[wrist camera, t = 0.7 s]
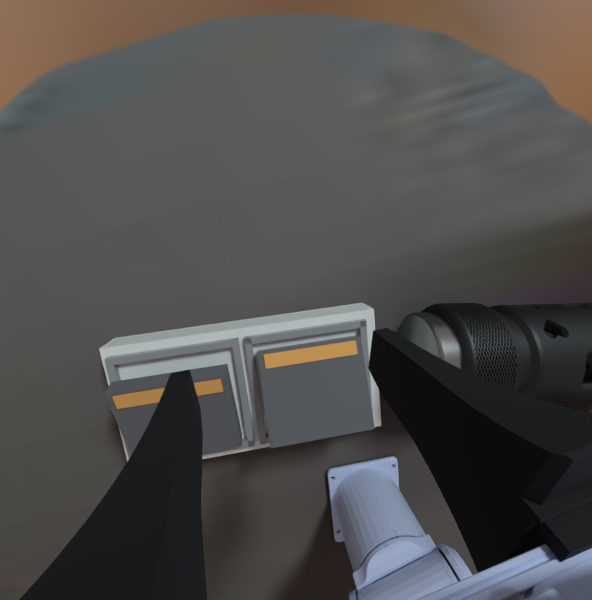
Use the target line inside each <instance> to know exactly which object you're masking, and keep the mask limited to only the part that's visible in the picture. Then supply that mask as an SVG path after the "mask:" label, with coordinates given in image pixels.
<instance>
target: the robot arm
mask: <svg viewBox="0 0 592 600" xmlns="http://www.w3.org/2000/svg"><path fill="white" fill-rule="evenodd" d="M368 368H369V370H370V372H371V375H372V377H373V379H374V381H375V383H376V384H377V386H378V388H379V390H380V392H381V393H382V395H383V396H384V398H385V399H386V401H387V402H388V404H389V405H390V407H391V408H392V409H393V411H394V412H395V414H396V415H397V417H398V418H399V420H400V421H401V423H402V424H403V426H404V427H405V428H406V430H407V431H408V433H409V434H410V436H411V437H412V439H413V441H414V442H415V444H416V445H417V447H418V449H419V451H420V452H421V454H422V456H423V458H424V460H425V462H426V463H427V465H428V467H429V469H430V471H431V473H432V475H433V477H434V478H435V480H436V482H437V484H438V486H439V488H440V490H441V492H442V494H443V496H444V498H445V500H446V502H447V504H448V506H449V508H450V510H451V513H452V515H453V517H454V519H455V521H456V523H457V525H458V527H459V530H460V532H461V534H462V536H463V539H464V541H465V543H466V545H467V547H468V550H469V552H470V554H471V557H472V559H473V561H474V564H475V566H476V568H477V571H478V573H477V574H474V575H472V574H471V572H470V570H469V569H468V567H467V566H466V564H465V563H464V561H463V560H462V558H461V557H460V556H459V554H458V553H457V552H456V551H455V550H454V549H453V548H450V547H448V546H447V545H445V544H441V545H439V546H438V549H439V551H438V549H437V547H436V546H435V544H434V542H433V541H432V539H431V537H430V536H429V535H428V534H427V535H426V534H425V533H424V531H423V529H422V528H421V526H420V524H419V523H418V521H417V519H416V517H415V516H414V514H413V512H412V511H411V509H410V507H409V506H408V504H407V502H406V500H405V499H404V497H403V495H402V494H401V492H400V490H399V479H398V461H397V459H396V458H395V457H394V456H391V457H386V458H381V459H376V460H371V461H366V462H361V463H356V464H351V465H346V466H341V467H336V468H331V469H329V470H328V472H327V475H328V484H329V494H330V503H331V512H332V522H333V531H334V538H335V541H336V542H342V541H344V542H345V545H346V548H347V552H348V555H349V558H350V562H351V565H352V568H353V571H354V573H353V574H352V575H353V579H354V582H355V585H356V589H357V590H353V591H351V592H350V593H349V599H348V600H517V599H519V598H521V597H523V596H525V599H524V600H592V413H588V412H584V411H580V410H576V409H571V408H567V407H563V406H560V405H556V404H553V403H550V402H546V401H543V400H539V399H536V398H533V397H530V396H527V395H524V394H521V393H518V392H515V391H513V390H510V389H507V388H504V387H502V386H499V385H496V384H494V383H491V382H489V381H487V380H484V379H482V378H480V377H477V376H475V375H473V374H470V373H468V372H466V371H464V370H462V369H460V368H458V367H456V366H454V365H452V364H450V363H448V362H446V361H444V360H442V359H440V358H439V357H437V356H435V355H433V354H431V353H430V352H428V351H426V350H424V349H423V348H421V347H419V346H417V345H416V344H414V343H412V342H410V341H409V340H407V339H405V338H404V337H402V336H400V335H398V334H397V333H395V332H393V331H391V330H389V329H388V328H384V329H379V330H374V331H373V335H372V343H371V351H370V359H369V367H368ZM202 447H203V431H202V419H201V408H200V404H199V401H198V397H197V393H196V390H195V386H194V383H193V379H192V376H191V372H190V369H189V370H184V371H179V372H175V373H172V374H171V375H170V376H169V378H168V381H167V384H166V386H165V389H164V391H163V394H162V396H161V398H160V401H159V403H158V405H157V407H156V409H155V412H154V414H153V416H152V418H151V420H150V422H149V424H148V426H147V428H146V430H145V432H144V433H143V435H142V437H141V439H140V441H139V442H138V444H137V446H136V448H135V450H134V451H133V453H132V455H131V456H130V458H129V460H128V461H127V463H126V465H125V466H124V468H123V469H122V471H121V472H120V474H119V476H118V477H117V479H116V480H115V482H114V483H113V485H112V486H111V487H110V489H109V490H108V492H107V493H106V495H105V496H104V497H103V499H102V500H101V502H100V503H99V504H98V506H97V507H96V509H95V510H94V511H93V513H92V514H91V515H90V517H89V518H88V519H87V521H86V522H85V523H84V524H83V526H82V527H81V528H80V529H79V531H78V532H77V533H76V534H75V536H74V537H73V538H72V539H71V540H70V542H69V543H68V544H67V545H66V547H65V548H64V549H63V550H62V552H61V553H60V554H59V555H58V557H57V558H56V559H55V560H54V561H53V563H52V564H51V565H50V566H49V567H48V568H47V570H46V571H45V572H44V573H43V574H42V575H41V576H40V577H39V578H38V580H37V581H36V582H35V583H34V584H33V585H32V586H31V587H30V589H29V590H28V591H27V592H26V593H25V594H24V595H23V596H22V597H21V599H20V600H207V593H206V581H205V566H204V552H203V537H202V520H201V481H202ZM393 464H394V465H393ZM392 465H393V466H392ZM331 477H333V478H331Z"/></svg>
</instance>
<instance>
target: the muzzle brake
mask: <svg viewBox="0 0 592 600" xmlns="http://www.w3.org/2000/svg"><path fill="white" fill-rule="evenodd" d="M397 334H398V335H400V336H402V337H404V338H405V339H407V340H409V341H410V342H412V343H414V344H416V345H417V346H419V347H421V348H423V349H424V350H426V351H428V352H430V353H431V354H433V355H435V356H437V357H439V358H440V359H442V360H444V361H446V362H448V363H450V364H452V365H454V366H456V367H458V368H460V369H462V370H464V371H466V372H468V373H470V374H473V375H475V376H477V377H480V378H482V379H484V380H487V381H489V382H491V383H494V384H496V385H499V386H502V387H504V388H507V389H510V390H513V391H515V392H518V393H521V394H524V395H527V396H530V397H533V398H536V399H539V400H543V401H546V402H550V403H563V402H577V401H591V400H592V303H580V304H537V305H498V306H491V307H487V306H484V305H482V304H477V303H446V304H434V305H431V306H429V307H427V308H426V309H424V310H423V311H422V312H421V313H412V314H410V315H408V316H406V317H405V318H404V319H403V321H402V323H401V324H400V327H399V329H398V333H397Z"/></svg>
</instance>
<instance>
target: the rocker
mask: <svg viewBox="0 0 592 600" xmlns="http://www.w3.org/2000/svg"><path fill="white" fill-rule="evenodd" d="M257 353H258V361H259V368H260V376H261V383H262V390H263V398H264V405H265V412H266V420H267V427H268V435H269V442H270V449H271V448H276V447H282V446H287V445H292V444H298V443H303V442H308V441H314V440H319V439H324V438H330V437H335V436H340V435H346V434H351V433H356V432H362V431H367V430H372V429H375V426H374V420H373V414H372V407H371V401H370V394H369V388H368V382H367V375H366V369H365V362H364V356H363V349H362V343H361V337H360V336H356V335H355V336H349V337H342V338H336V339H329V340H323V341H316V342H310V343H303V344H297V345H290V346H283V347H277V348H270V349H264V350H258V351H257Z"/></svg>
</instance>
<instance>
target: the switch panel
mask: <svg viewBox="0 0 592 600" xmlns="http://www.w3.org/2000/svg"><path fill="white" fill-rule="evenodd" d="M374 330H375V320H374V309H373V308H371V307H369V306H368V305H366V304H364V303H357V304H350V305H343V306H336V307H329V308H322V309H315V310H308V311H301V312H294V313H287V314H280V315H273V316H266V317H259V318H252V319H245V320H237V321H230V322H223V323H216V324H209V325H202V326H195V327H188V328H181V329H174V330H167V331H160V332H153V333H146V334H139V335H132V336H125V337H118V338H114V339H112V340H111V341H109V342H108V343H107V344H105V345H104V346H102V347H101V348H99V350H100V354H101V358H102V362H103V366H104V370H105V374H106V378H107V382H108V386H109V385H110V383H111V382H114V381H120V380H127V379H133V378H140V377H146V376H152V375H159V374H165V373H172V372H178V371H184V370H189V369H190V370H191V369H197V368H204V367H210V366H216V365H223V364H227V365H228V370H229V374H230V379H231V384H232V388H233V393H234V398H235V403H236V407H237V412H238V417H239V421H240V426H241V431H242V446H240V447H235V448H229V449H224V450H219V451H213V452H208V453H202V459H206V458H212V457H217V456H222V455H228V454H233V453H238V452H244V451H249V450H254V449H260V448H265V447H270V442H269V435H268V427H267V420H266V412H265V405H264V398H263V390H262V383H261V376H260V368H259V361H258V353H257V351H258V350H264V349H270V348H277V347H283V346H290V345H297V344H303V343H310V342H316V341H323V340H329V339H336V338H342V337H349V336H355V335H356V336H360V337H361V343H362V349H363V356H364V362H365V369H366V375H367V382H368V388H369V394H370V401H371V407H372V414H373V420H374V426H375V427H377V426H381V412H380V396H379V388H378V386H377V384H376V383H375V381H374V379H373V377H372V375H371V372H370V370H369V368H368V367H369V359H370V351H371V343H372V335H373V331H374ZM119 430H120V428H119ZM120 434H121V438H122V442H123V446H124V450H125V454H126V458H127V461H128V460H129V458H130V456H131V453H130V451H129V448H128V446H127V444H126V442H125V439H124V437H123V435H122V433H121V431H120Z"/></svg>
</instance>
